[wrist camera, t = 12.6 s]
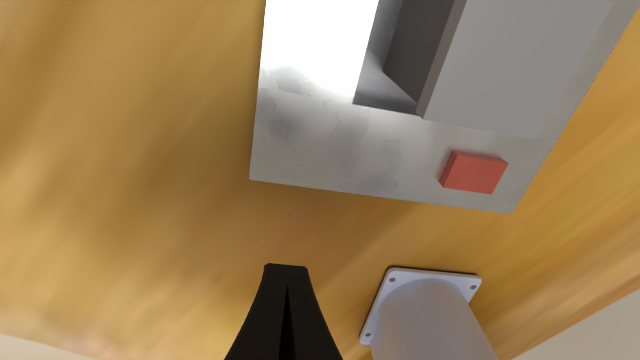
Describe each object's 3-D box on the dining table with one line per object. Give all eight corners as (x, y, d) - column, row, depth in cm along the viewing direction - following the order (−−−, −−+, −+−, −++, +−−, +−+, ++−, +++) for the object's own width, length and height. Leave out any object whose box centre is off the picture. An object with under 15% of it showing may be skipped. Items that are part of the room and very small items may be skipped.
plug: (454, 90, 17) (535, 139, 11) (377, 75, 17) (422, 119, 11) (490, -1, 15) (613, 2, 9) (404, -23, 14) (479, -33, 9)
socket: (489, 192, 22) (517, 220, 19) (253, 158, 19) (247, 185, 16) (626, -56, 15) (699, -66, 12) (287, -159, 12) (285, -202, 10)
